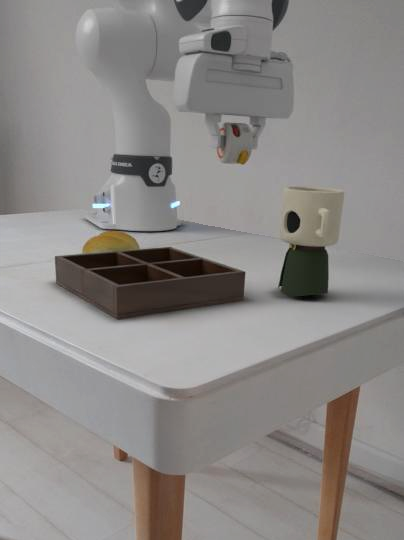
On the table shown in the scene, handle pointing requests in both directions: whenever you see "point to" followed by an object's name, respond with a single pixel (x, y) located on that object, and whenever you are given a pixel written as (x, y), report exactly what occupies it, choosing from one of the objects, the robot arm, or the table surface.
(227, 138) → the roller toy
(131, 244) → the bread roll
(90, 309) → the table surface
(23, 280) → the table surface
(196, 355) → the table surface
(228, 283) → the grid
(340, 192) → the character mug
